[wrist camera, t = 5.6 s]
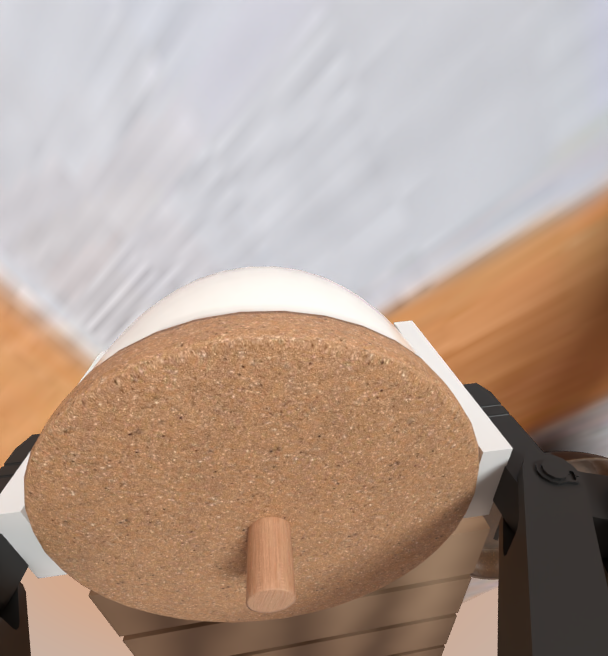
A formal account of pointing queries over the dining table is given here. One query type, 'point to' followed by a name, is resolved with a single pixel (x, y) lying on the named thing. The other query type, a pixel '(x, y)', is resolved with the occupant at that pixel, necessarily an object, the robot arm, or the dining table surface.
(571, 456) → the plant saucer
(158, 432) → the lidded jar
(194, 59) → the dining table surface
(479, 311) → the dining table surface
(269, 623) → the walnut rack
